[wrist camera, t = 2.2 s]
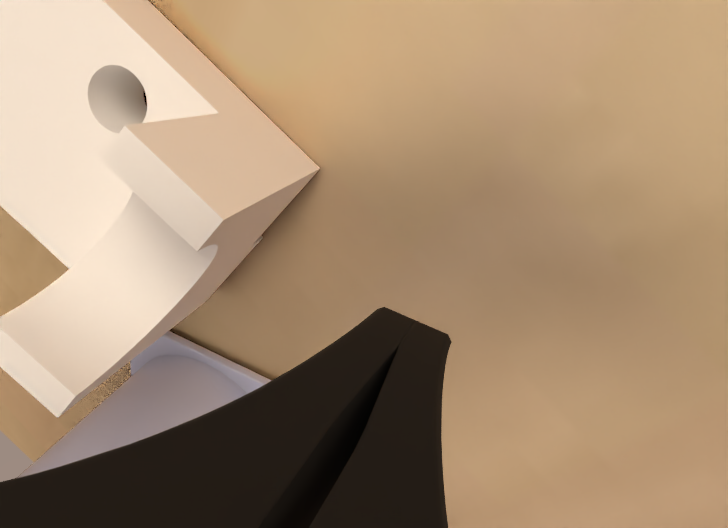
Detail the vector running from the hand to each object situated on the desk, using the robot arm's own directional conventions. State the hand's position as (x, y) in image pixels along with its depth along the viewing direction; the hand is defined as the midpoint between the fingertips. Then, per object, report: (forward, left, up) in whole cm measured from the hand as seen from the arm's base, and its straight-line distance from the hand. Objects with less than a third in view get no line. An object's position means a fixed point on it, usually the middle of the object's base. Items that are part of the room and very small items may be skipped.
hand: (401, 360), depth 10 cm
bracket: (0, +12, -7) cm, 14 cm away
